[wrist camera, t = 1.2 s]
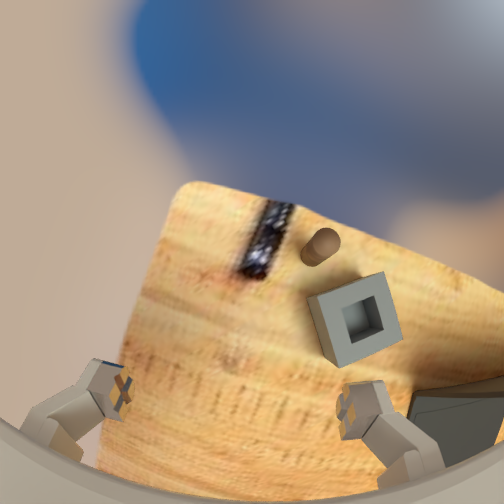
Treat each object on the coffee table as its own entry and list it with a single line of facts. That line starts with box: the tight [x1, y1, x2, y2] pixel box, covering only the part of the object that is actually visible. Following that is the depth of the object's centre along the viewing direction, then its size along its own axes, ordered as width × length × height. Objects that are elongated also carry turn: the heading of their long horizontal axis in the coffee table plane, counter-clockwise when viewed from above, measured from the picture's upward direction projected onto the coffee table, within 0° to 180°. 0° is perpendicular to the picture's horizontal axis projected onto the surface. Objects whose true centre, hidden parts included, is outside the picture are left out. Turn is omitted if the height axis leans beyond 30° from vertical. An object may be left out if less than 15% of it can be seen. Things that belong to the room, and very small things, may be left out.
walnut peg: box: [301, 228, 341, 267], centre depth 38 cm, size 4×4×10 cm
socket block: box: [306, 271, 403, 368], centre depth 38 cm, size 10×10×8 cm
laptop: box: [407, 376, 504, 468], centre depth 23 cm, size 33×35×26 cm
